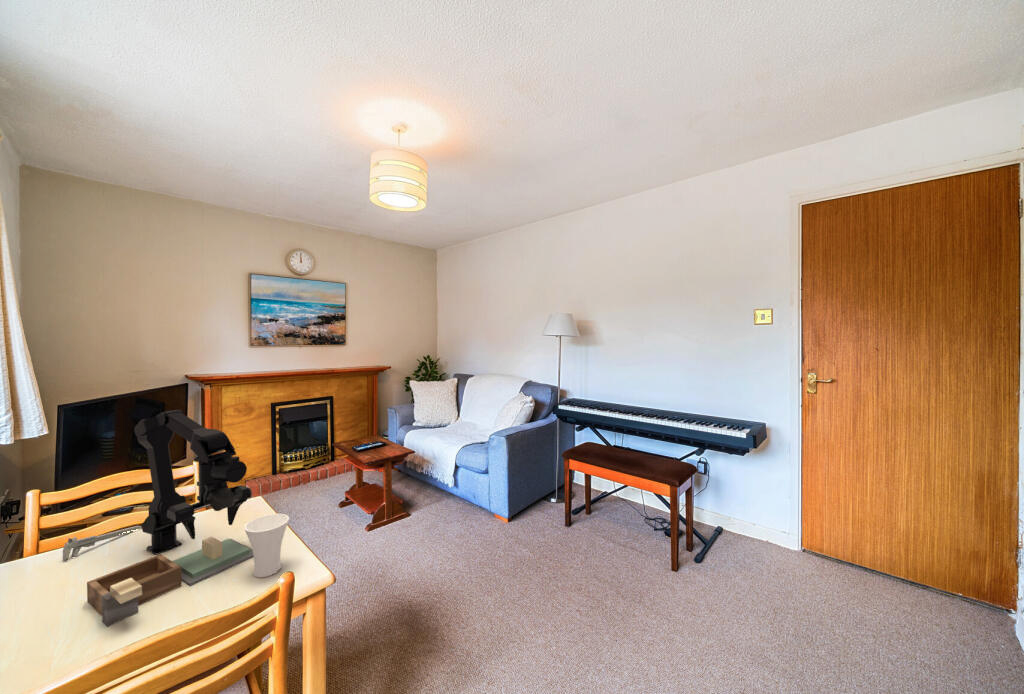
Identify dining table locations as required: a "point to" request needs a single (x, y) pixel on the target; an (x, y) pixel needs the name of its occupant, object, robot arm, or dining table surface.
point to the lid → (211, 556)
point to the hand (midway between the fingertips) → (212, 531)
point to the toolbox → (150, 574)
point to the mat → (192, 581)
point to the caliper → (90, 542)
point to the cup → (266, 542)
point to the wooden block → (125, 590)
